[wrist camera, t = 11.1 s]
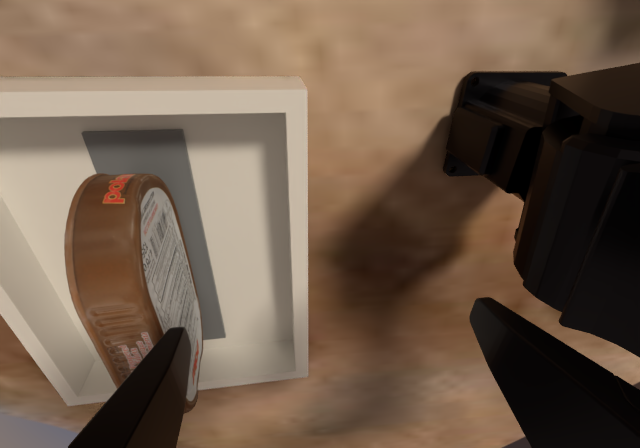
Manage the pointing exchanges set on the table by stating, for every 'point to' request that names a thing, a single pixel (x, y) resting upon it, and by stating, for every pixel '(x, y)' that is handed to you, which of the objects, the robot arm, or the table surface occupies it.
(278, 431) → the table surface
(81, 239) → the tin
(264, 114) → the tray
